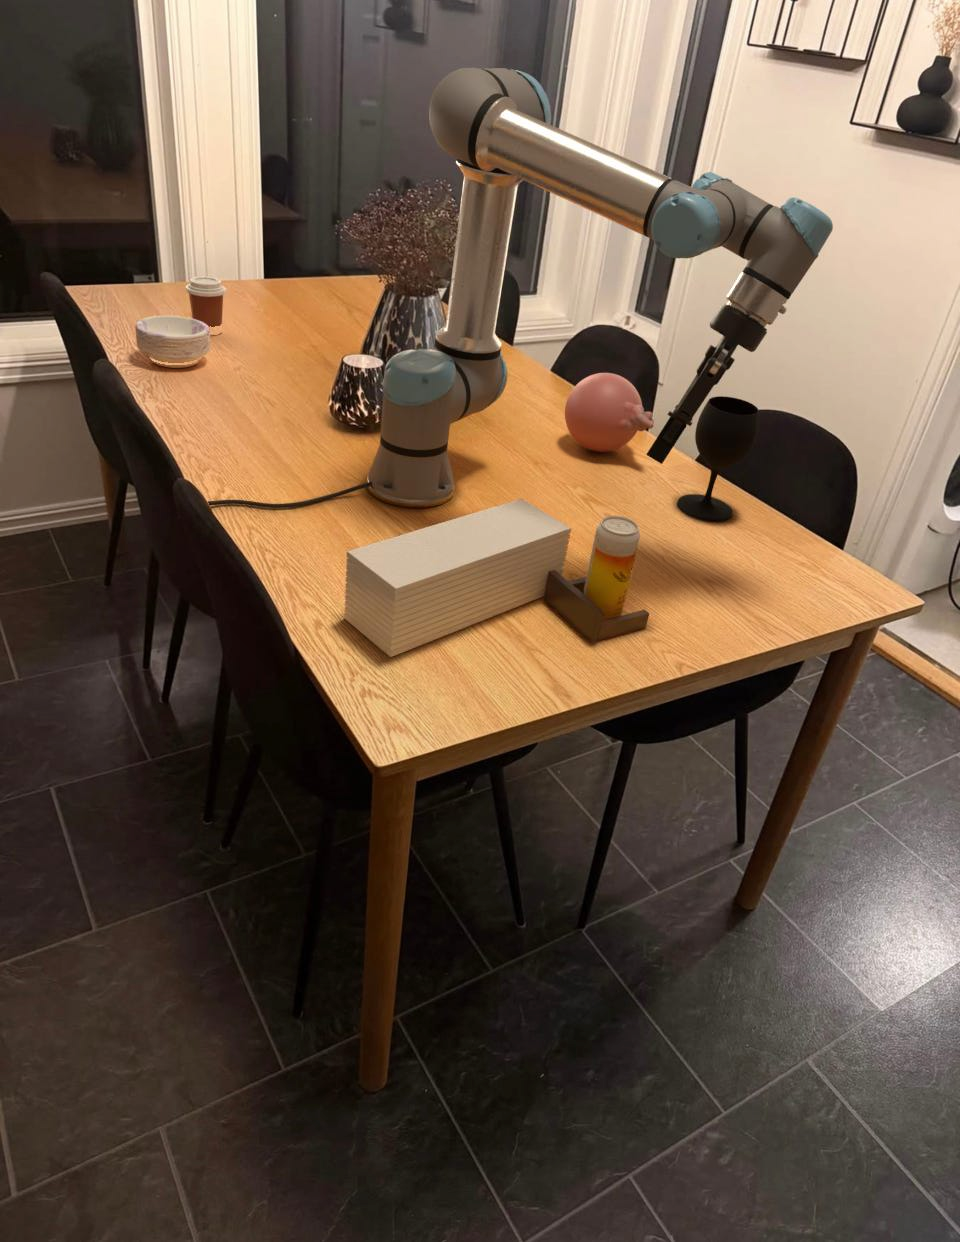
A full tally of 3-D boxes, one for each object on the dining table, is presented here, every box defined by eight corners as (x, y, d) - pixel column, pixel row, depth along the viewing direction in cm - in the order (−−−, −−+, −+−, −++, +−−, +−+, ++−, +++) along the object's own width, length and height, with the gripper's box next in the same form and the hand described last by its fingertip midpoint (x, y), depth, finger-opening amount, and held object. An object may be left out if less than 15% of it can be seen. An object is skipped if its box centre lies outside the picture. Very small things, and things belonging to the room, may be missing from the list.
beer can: (622, 628, 133) (643, 537, 125) (580, 623, 133) (599, 532, 125) (618, 606, 138) (639, 517, 130) (578, 601, 138) (596, 512, 130)
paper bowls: (226, 363, 205) (224, 327, 200) (172, 378, 194) (170, 341, 189) (177, 345, 211) (174, 310, 206) (123, 359, 200) (119, 322, 195)
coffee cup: (222, 339, 217) (220, 287, 211) (183, 335, 217) (180, 282, 210) (231, 328, 225) (229, 277, 218) (193, 324, 224) (190, 273, 218)
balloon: (612, 479, 176) (629, 402, 168) (543, 440, 189) (555, 366, 180) (666, 465, 185) (684, 391, 177) (596, 428, 197) (610, 358, 189)
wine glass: (735, 504, 173) (765, 403, 162) (729, 527, 165) (761, 422, 154) (681, 491, 176) (707, 390, 165) (672, 513, 167) (699, 408, 156)
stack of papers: (512, 559, 147) (521, 498, 141) (559, 590, 140) (571, 527, 134) (344, 618, 127) (346, 551, 122) (390, 657, 121) (395, 588, 115)
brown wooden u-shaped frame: (597, 586, 142) (603, 558, 140) (646, 627, 134) (653, 598, 132) (543, 599, 138) (548, 571, 135) (590, 642, 130) (597, 613, 127)
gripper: (773, 329, 123) (675, 479, 132) (766, 327, 136) (676, 464, 144) (725, 300, 124) (630, 452, 133) (722, 301, 136) (635, 440, 145)
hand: (654, 458), depth 138 cm, fingers closed
